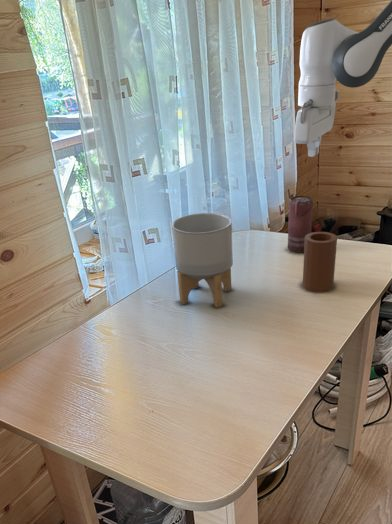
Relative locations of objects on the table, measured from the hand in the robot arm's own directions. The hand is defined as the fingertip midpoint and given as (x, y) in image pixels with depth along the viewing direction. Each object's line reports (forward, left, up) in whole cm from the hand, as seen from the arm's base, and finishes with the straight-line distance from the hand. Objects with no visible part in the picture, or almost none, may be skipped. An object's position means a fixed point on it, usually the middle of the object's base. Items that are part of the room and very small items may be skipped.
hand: (313, 155), depth 135 cm
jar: (-12, +28, -23) cm, 38 cm away
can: (0, +8, -23) cm, 25 cm away
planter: (+10, +43, -23) cm, 50 cm away
